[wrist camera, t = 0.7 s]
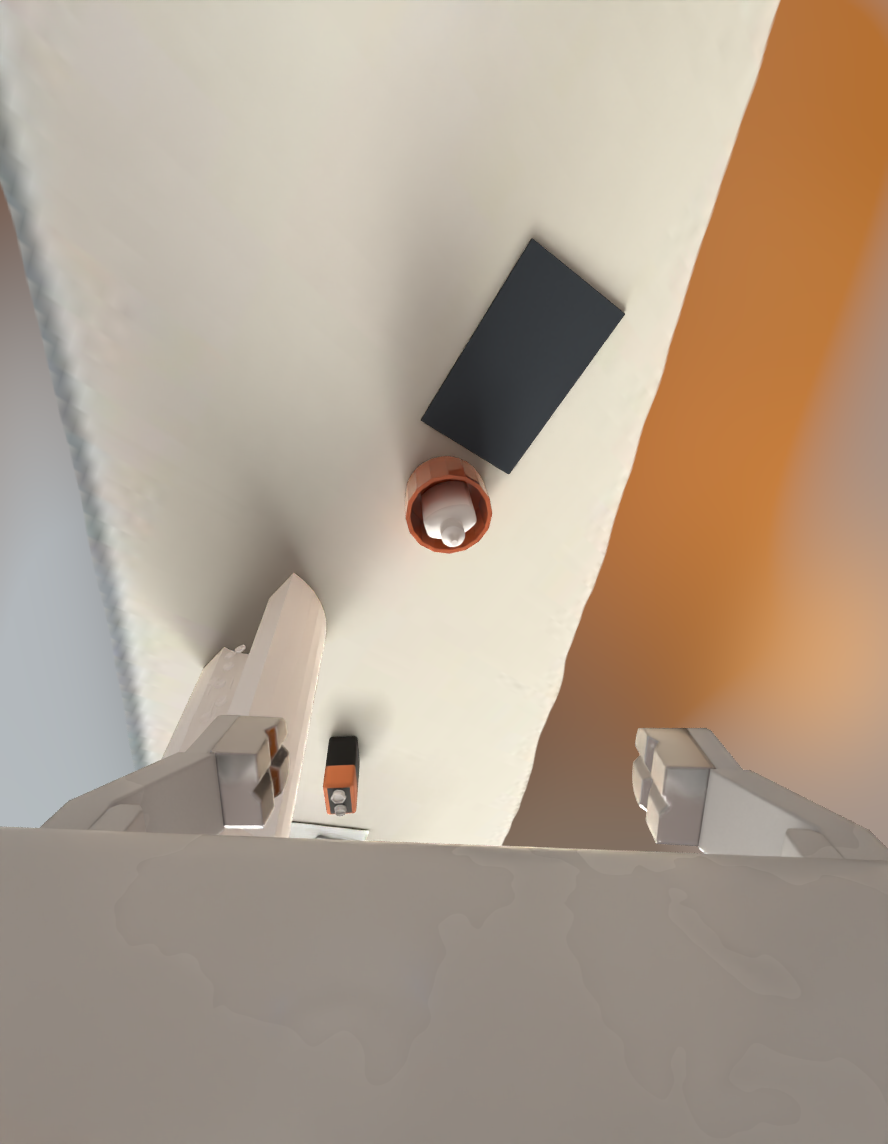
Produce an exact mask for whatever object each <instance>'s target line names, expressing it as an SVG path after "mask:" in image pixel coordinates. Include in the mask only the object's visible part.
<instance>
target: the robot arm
mask: <svg viewBox="0 0 888 1144" xmlns="http://www.w3.org/2000/svg"><path fill="white" fill-rule="evenodd" d="M287 735H288V733H287V724H286V721H285V719H284V718H282V717H261V716H241V715H220V716H217V717H216V718H215V719H214V720H213V722H212V723H211V724H210V725H209V726H208V727H207V728H206V729H205V730H204V732H203V733H202V734H201V735H200V736H199V737H198V738H197V739H196V741H195V742H194V743H193V744H192V745H191V746H190V747H189V748H188V749H187V751H186V752H178V753H175V754H173V755H171V756H169V757H166V758H164V759H162V760H160V761H157V762H155V763H153V764H151V765H148V766H146V767H144V768H142V769H139V770H137V771H135V772H133V773H130V774H128V775H126V776H123V777H121V778H119V779H117V780H114V781H112V782H110V783H108V784H105V785H103V786H101V787H99V788H97V789H94V790H92V791H90V792H87V793H85V794H83V795H81V796H78V797H76V798H74V799H72V800H69V801H68V802H67V803H66V804H65V805H64V806H63V807H61V808H60V809H59V810H58V811H57V812H56V813H55V814H54V815H53V816H52V817H51V818H49V819H48V820H47V821H46V822H45V823H44V824H43V825H42V826H41V827H40V828H23V827H0V1144H888V848H887V847H886V846H885V845H884V844H883V843H882V842H881V841H880V840H879V839H878V838H877V837H876V836H875V835H874V834H873V833H872V832H871V831H870V830H868V829H866V828H864V827H862V826H860V825H858V824H856V823H854V822H852V821H850V820H848V819H846V818H844V817H842V816H840V815H838V814H836V813H834V812H832V811H830V810H828V809H826V808H824V807H822V806H820V805H818V804H816V803H814V802H813V801H811V800H808V799H807V798H805V797H802V796H801V795H799V794H797V793H794V792H792V791H791V790H789V789H787V788H784V787H783V786H780V785H779V784H777V783H775V782H773V781H771V780H769V779H767V778H765V777H763V776H761V775H759V774H757V773H755V772H752V771H751V770H743V769H742V768H741V767H740V765H739V764H738V763H737V762H736V761H735V760H734V758H733V757H732V756H731V754H730V753H729V752H728V751H727V750H726V748H725V747H724V746H723V745H722V743H721V742H720V741H719V740H718V739H717V737H716V736H715V735H714V734H713V733H712V731H711V730H709V729H707V728H639V729H638V732H637V735H636V743H635V746H636V748H637V750H638V752H639V753H640V756H639V757H638V758H637V759H636V760H635V761H634V762H633V773H632V778H633V789H634V793H635V797H636V799H637V802H638V804H639V806H640V807H641V808H643V809H644V810H645V811H647V816H646V822H647V824H648V826H649V829H650V830H651V833H652V835H653V837H654V839H655V841H656V843H657V844H670V845H686V846H699V847H698V848H699V849H700V850H701V851H702V852H704V853H705V854H702V853H676V852H649V851H623V850H597V849H595V850H594V849H570V848H569V849H568V848H544V847H517V846H492V845H466V844H440V843H414V842H388V841H362V840H336V839H310V838H284V837H258V836H232V835H219V834H220V833H221V832H223V831H224V828H237V829H263V828H264V826H265V825H266V823H267V821H268V819H269V817H270V815H271V813H272V811H273V809H274V808H275V806H274V798H276V797H277V796H279V795H280V794H282V792H283V790H284V788H285V786H286V783H287V779H288V775H289V765H290V758H289V751H288V750H287V749H286V748H285V746H284V745H283V742H284V740H285V739H286V737H287Z"/></svg>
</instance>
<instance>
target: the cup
mask: <svg viewBox="0 0 888 1144" xmlns="http://www.w3.org/2000/svg"><path fill="white" fill-rule="evenodd" d="M447 481H463V482H465V483H466V484H467V487H468V490H469V493H470V497H471V500H472V504H473V507H474V510H475V514H476V523H475V525H474V526H473V527H472V528H470V529H469V530H468V531H466V532H465V539H464V541H463V542H462V543H461V544H460V545H458V546H456V547H449V546H447V545H445V544H444V543H443V541H442V539H437V538H432V537H430V536H429V535H428V534H427V531H426V529H425V526H424V521H423V513H422V503H421V496H422V494H423V493H424V492H425V491H427V490H428V489H429V488H431V487H433V486H435V485H437V484H439V483H442V482H447ZM405 513H406V521H407V525H408V528H409V532H410V533H411V535H412V536H413V537H414V538H415V539H416V541H417V542H418V543H419V544H420V545H422V546H424V547H426V548H428V549H430V550H432V551H434V552H441V553H454V552H459V551H463V550H466V549H468V548H469V547H471V546H472V545H474V544H476V543H477V542H479V541H480V539H481V538H482V537H483V535H484V534H485V533H486V531H487V530H488V528H489V525H490V521H491V517H492V509H491V504H490V499H489V496H488V493H487V490H486V488H485V485H484V482H483V480H482V478H481V476H480V475H479V473H478V472H477V470H476V469H475V468H474V467H473V466H472V465H471V464H469V463H468V462H466V461H464V460H462V459H459V458H456V457H451V456H441V457H436V458H432V459H430V460H428V461H426V462H424V463H422V464H421V465H420V466H418V467H417V468H416V469H415V470H414V472H413V473H412V474H411V476H410V478H409V480H408V482H407V486H406V493H405Z"/></svg>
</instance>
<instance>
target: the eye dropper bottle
mask: <svg viewBox="0 0 888 1144" xmlns="http://www.w3.org/2000/svg"><path fill="white" fill-rule="evenodd" d="M421 503H422V513H423V521H424V526H425V529H426V531H427V534H428V535H429V536H430V537H432V538H437V539H442V541H443V543H444V544H445V545H447V546H449V547H456V546H458V545H460V544H461V543H462V542H463V541H464V539H465V532H466V531H468V530H469V529H470V528H472V527H473V526H474V525H475V523H476V514H475V510H474V507H473V504H472V500H471V497H470V493H469V490H468V487H467V484H466V483H465V482H463V481H447V482H442V483H439V484H437V485H435V486H433V487H431V488H429V489H428V490H427V491H425V492H424V493H423V494H422V496H421Z"/></svg>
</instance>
